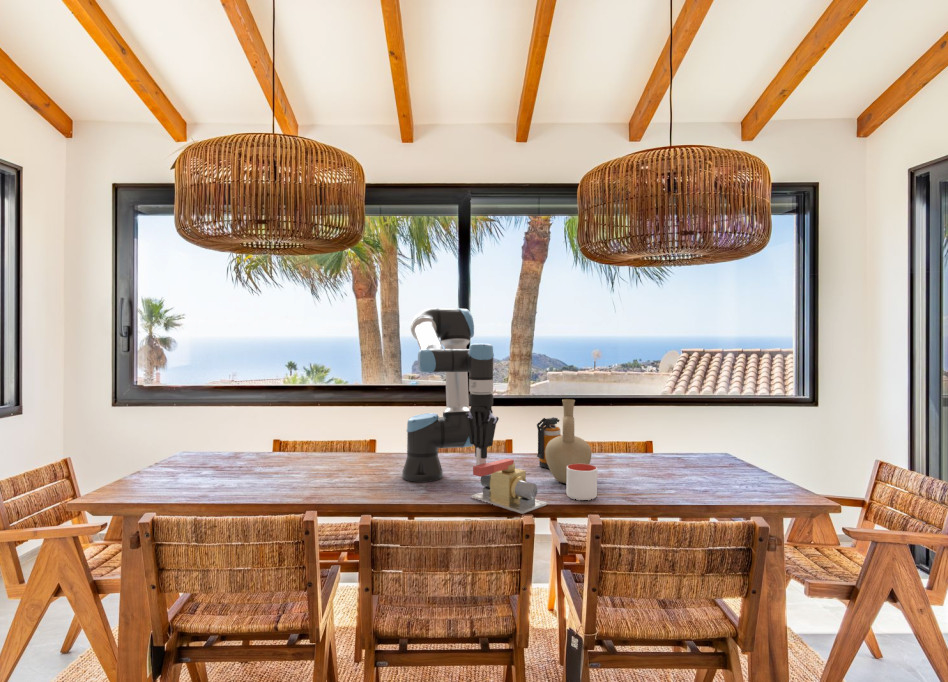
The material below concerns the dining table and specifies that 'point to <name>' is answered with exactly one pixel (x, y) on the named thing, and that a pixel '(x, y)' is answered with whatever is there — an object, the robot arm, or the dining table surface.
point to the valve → (510, 491)
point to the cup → (581, 481)
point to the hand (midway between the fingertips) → (481, 468)
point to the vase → (566, 447)
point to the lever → (494, 467)
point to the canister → (546, 437)
